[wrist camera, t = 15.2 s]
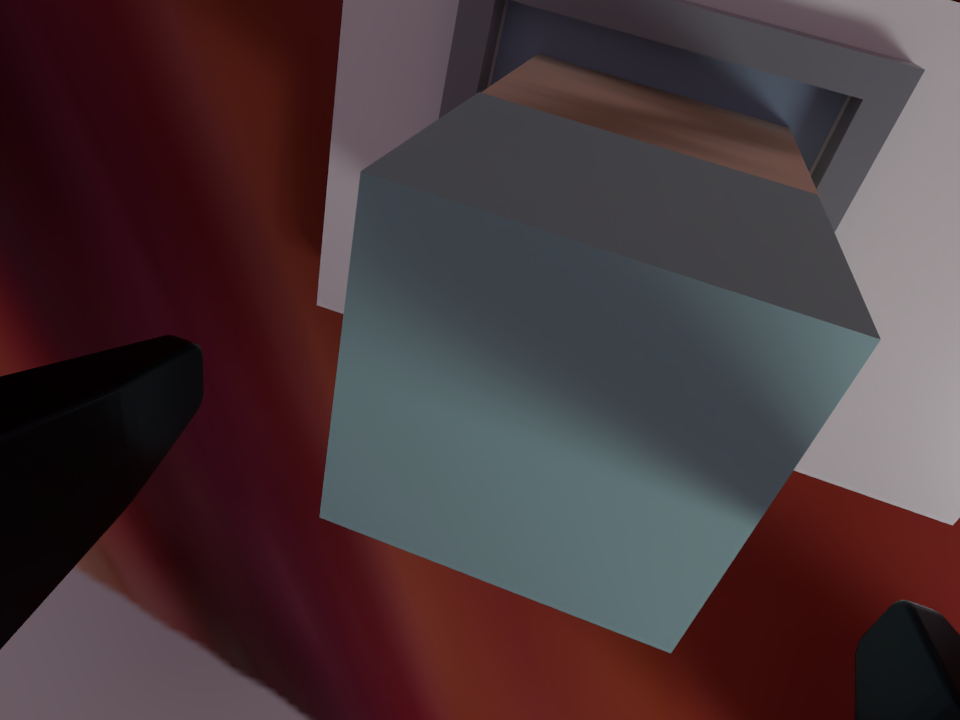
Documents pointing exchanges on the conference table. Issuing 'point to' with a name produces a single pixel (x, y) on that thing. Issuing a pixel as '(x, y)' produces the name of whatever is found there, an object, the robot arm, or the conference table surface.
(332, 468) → the teal block
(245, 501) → the conference table surface
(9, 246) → the conference table surface
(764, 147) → the birch block
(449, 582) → the conference table surface
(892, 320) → the grey tray
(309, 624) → the conference table surface
